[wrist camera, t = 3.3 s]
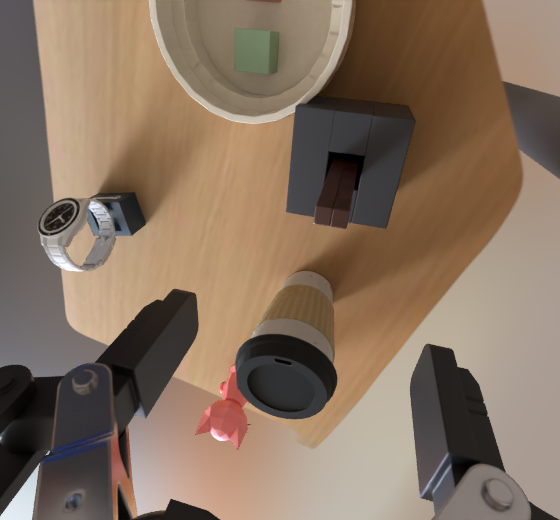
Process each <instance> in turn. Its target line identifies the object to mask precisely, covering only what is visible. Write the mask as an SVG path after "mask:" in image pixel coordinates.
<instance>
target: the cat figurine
mask: <svg viewBox="0 0 560 520" xmlns="http://www.w3.org/2000/svg"><path fill="white" fill-rule="evenodd" d="M230 372H231V374H230V376H229V377H228V379H227V381H226V382H223V383H221V386H220V392H221V394H223V400H220V401H217V402H215V403H214V404H213V405H211V406H210V407H209V408H208V409H207V410H206V411H205V412H204V413H203V416H202V418H201V421H200V423H199V426H198V429H197V431H196V434H195V435H197V434H201V433H206V432H211V434H212V436H213V437H215V438H216V439H217V440H222V441H226V440H229V439H230V440H231V442H232V443H233V444H234V446H235V447H236V449H237V450H238V449H239V447H240V444H241V442H242V440H243V437H244V435H245V433H246V431H247V429H248V428H247V425H248V424H247V418H246V415H245V413H244V411H243V409H242V407H243V406H244V404H245V403H246V402H247V401H248V400H247V399H246V398H245V397H244V396H243V395H242V393H241V392H240V390H239V388H238V386H237V381H236V375H237V374H236V369H235V365H233V366H232V367H231V368H230ZM248 403H250V402H249V401H248Z"/></svg>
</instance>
